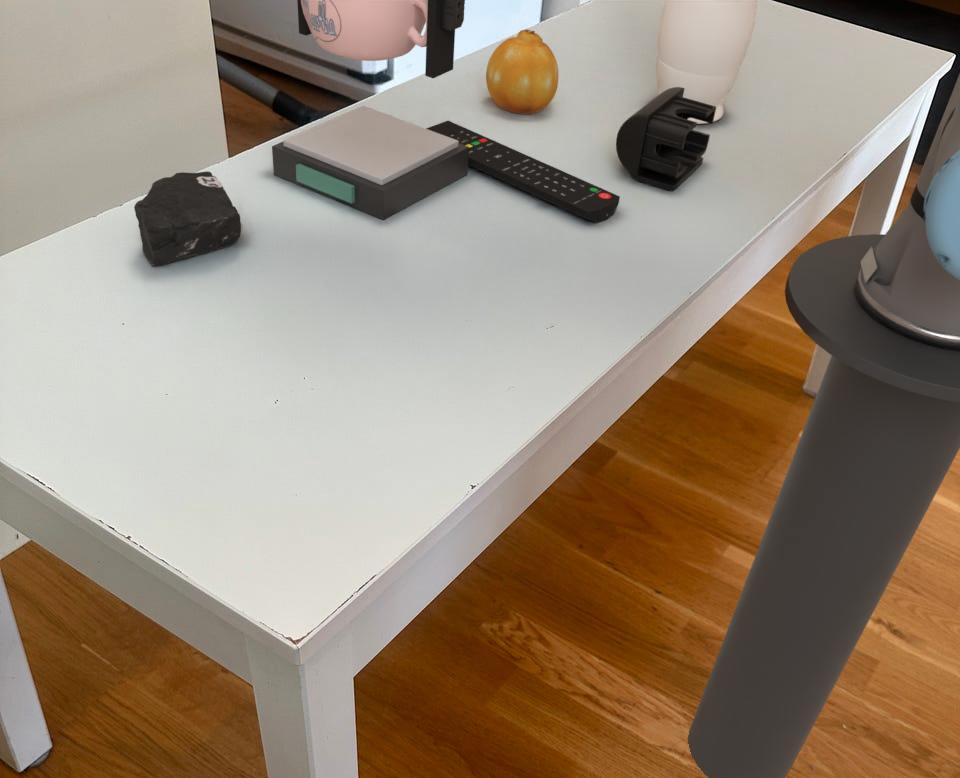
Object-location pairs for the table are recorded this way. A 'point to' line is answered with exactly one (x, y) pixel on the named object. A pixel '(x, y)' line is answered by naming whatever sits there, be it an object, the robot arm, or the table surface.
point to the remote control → (533, 174)
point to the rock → (186, 218)
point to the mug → (367, 27)
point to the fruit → (522, 74)
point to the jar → (703, 47)
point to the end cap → (664, 140)
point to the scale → (371, 161)
